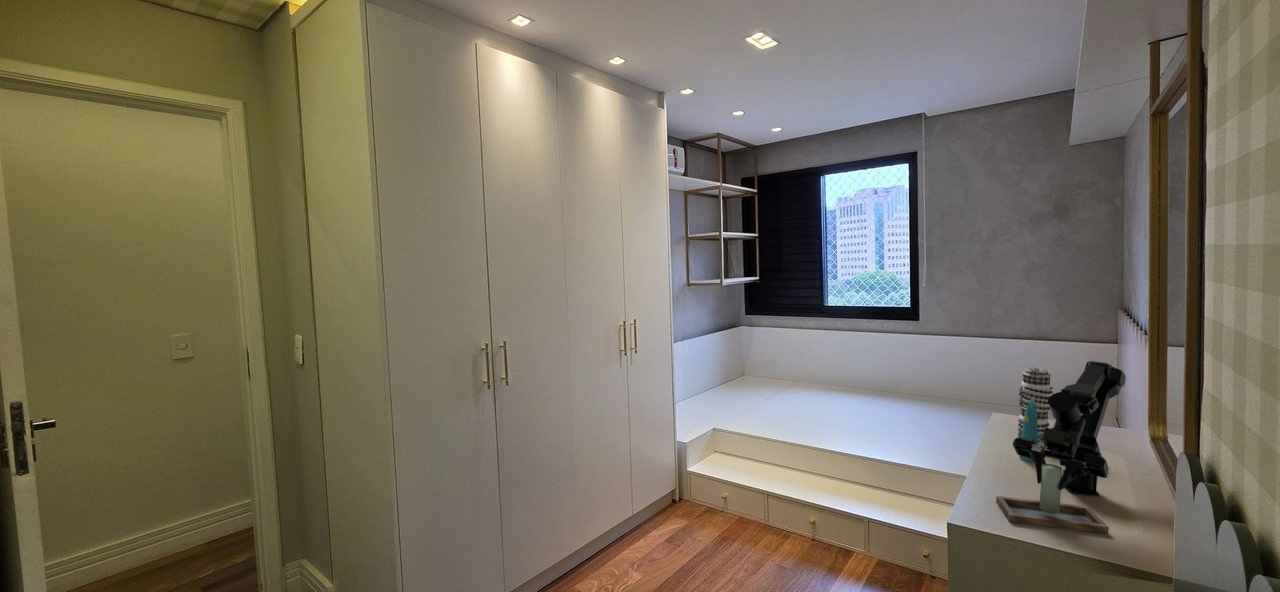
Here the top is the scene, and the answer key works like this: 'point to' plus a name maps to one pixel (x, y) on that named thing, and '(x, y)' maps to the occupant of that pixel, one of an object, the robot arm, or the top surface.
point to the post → (1050, 488)
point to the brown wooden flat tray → (1051, 515)
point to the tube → (1030, 426)
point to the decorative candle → (1035, 398)
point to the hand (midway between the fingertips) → (1048, 485)
